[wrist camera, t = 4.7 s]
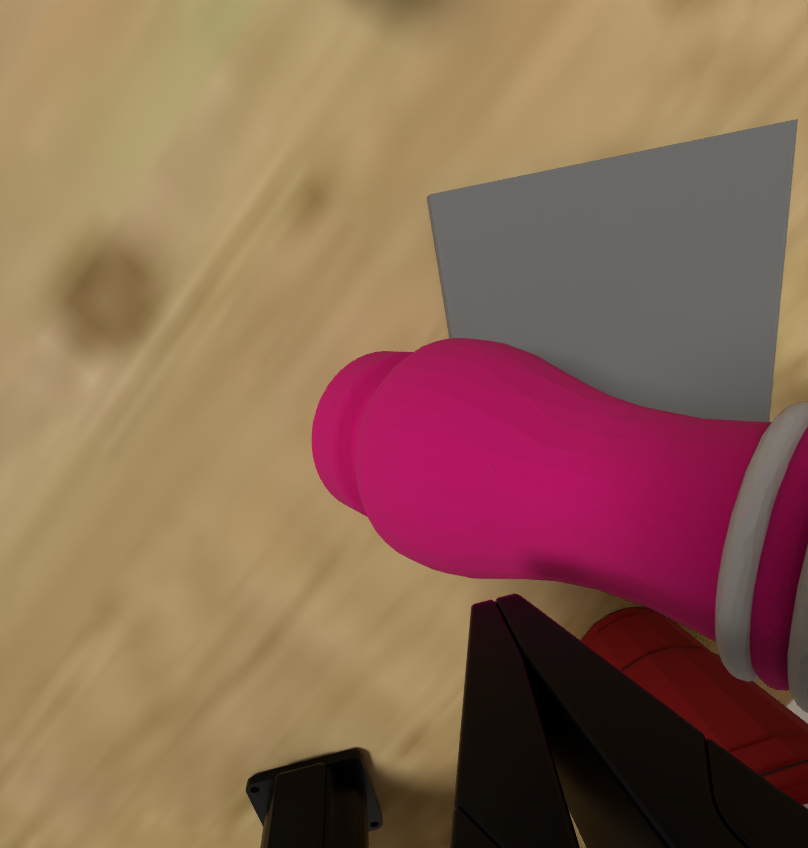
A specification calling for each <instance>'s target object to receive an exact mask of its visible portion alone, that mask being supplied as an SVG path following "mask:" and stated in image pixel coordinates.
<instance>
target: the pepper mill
mask: <svg viewBox="0 0 808 848" xmlns="http://www.w3.org/2000/svg"><path fill="white" fill-rule="evenodd" d="M312 453H313V459H314V463H315V466H316V469H317V472H318V474H319V476H320V479H321V480H322V482H323V484H324V485H325V487H326V488H327V489H328V491H329V492H330V493H331V494H332V495H333V496H334V497H335V498H336V499H337V500H338V501H340V502H342V503H343V504H345V505H347V506H349V507H350V508H352V509H354V510H356V511H358V512H360V513H361V514H363V515H365V516H367V517H368V518H369V520H370V522H371V523H372V525H373V527H374V529H375V530H376V532H377V533H378V534H379V535H380V536H381V538H382V539H383V540H384V541H385V542H386V543H387V544H388V545H390V546H391V547H392V548H393V549H394V550H395V551H397V552H398V553H400V554H402V555H404V556H405V557H407V558H409V559H411V560H413V561H416V562H418V563H420V564H422V565H424V566H427V567H429V568H431V569H433V570H437V571H441V572H445V573H449V574H454V575H459V576H464V577H469V578H480V579H533V580H548V581H558V582H563V583H568V584H573V585H578V586H583V587H589V588H594V589H598V590H601V591H604V592H606V593H609V594H612V595H615V596H617V597H620V598H623V599H626V600H628V601H631V602H634V603H637V604H639V605H642V606H645V607H648V608H650V609H653V610H655V611H657V612H659V613H661V614H663V615H665V616H667V617H669V618H671V619H673V620H674V621H676V622H678V623H680V624H682V625H684V626H686V627H688V628H690V629H692V630H694V631H696V632H698V633H700V634H702V635H704V636H706V637H708V638H710V639H712V640H713V641H715V642H716V644H717V648H718V652H719V655H720V658H721V660H722V662H723V665H724V666H725V667H726V669H727V670H728V671H729V673H730V674H731V675H733V676H734V677H736V678H738V679H741V680H744V681H747V682H749V681H754V680H757V679H761V680H762V681H763V682H764V683H765V684H766V685H767V686H769V687H771V688H774V689H776V690H790V692H791V694H792V696H793V698H794V700H795V702H796V703H797V705H798V706H799V707H800V708H801V709H802V710H803V711H805V712H808V402H802V403H798V404H795V405H792V406H789V407H787V408H786V409H785V410H783V411H782V412H781V413H780V414H779V415H778V416H777V417H776V418H775V419H774V420H773V421H772V422H756V421H738V420H721V419H704V418H698V417H693V416H688V415H683V414H678V413H673V412H668V411H663V410H658V409H653V408H648V407H643V406H640V405H637V404H634V403H631V402H628V401H625V400H622V399H619V398H616V397H613V396H610V395H608V394H606V393H604V392H602V391H600V390H598V389H596V388H594V387H592V386H590V385H588V384H586V383H584V382H582V381H580V380H579V379H577V378H575V377H573V376H572V375H570V374H568V373H566V372H565V371H563V370H561V369H559V368H558V367H556V366H554V365H552V364H551V363H549V362H547V361H545V360H544V359H542V358H540V357H538V356H537V355H534V354H532V353H530V352H527V351H524V350H521V349H519V348H516V347H513V346H510V345H508V344H505V343H500V342H495V341H489V340H480V339H470V338H452V339H445V340H440V341H436V342H433V343H431V344H428V345H426V346H423V347H421V348H420V349H418V350H417V351H415V352H391V351H382V352H374V353H370V354H367V355H364V356H362V357H359V358H357V359H356V360H354V361H352V362H351V363H349V364H348V365H347V366H346V367H344V368H343V369H342V370H341V371H340V372H339V373H338V374H337V375H336V376H335V377H334V378H333V380H332V381H331V382H330V383H329V385H328V386H327V388H326V390H325V392H324V394H323V395H322V397H321V399H320V401H319V404H318V407H317V410H316V413H315V417H314V421H313V428H312Z"/></svg>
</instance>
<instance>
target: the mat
mask: <svg viewBox="0 0 808 848" xmlns="http://www.w3.org/2000/svg"><path fill="white" fill-rule="evenodd" d="M797 122H798V119H796V120H791V121H786V122H782V123H777V124H772V125H767V126H762V127H757V128H752V129H747V130H743V131H738V132H733V133H728V134H723V135H718V136H713V137H708V138H704V139H699V140H694V141H689V142H684V143H679V144H674V145H669V146H665V147H660V148H655V149H650V150H645V151H640V152H635V153H630V154H626V155H621V156H616V157H611V158H606V159H601V160H596V161H591V162H587V163H582V164H577V165H572V166H567V167H562V168H557V169H552V170H548V171H543V172H538V173H533V174H528V175H523V176H518V177H513V178H509V179H504V180H499V181H494V182H489V183H484V184H479V185H474V186H470V187H465V188H460V189H455V190H450V191H445V192H440V193H435V194H431V195H429V196H427V201H428V207H429V214H430V220H431V226H432V232H433V238H434V245H435V251H436V257H437V263H438V270H439V276H440V282H441V288H442V294H443V301H444V307H445V313H446V319H447V326H448V332H449V338H450V339H452V338H470V339H480V340H489V341H495V342H500V343H505V344H508V345H510V346H513V347H516V348H519V349H521V350H524V351H527V352H530V353H532V354H534V355H537V356H538V357H540V358H542V359H544V360H545V361H547V362H549V363H551V364H552V365H554V366H556V367H558V368H559V369H561V370H563V371H565V372H566V373H568V374H570V375H572V376H573V377H575V378H577V379H579V380H580V381H582V382H584V383H586V384H588V385H590V386H592V387H594V388H596V389H598V390H600V391H602V392H604V393H606V394H608V395H610V396H613V397H616V398H619V399H622V400H625V401H628V402H631V403H634V404H637V405H640V406H643V407H648V408H653V409H658V410H663V411H668V412H673V413H678V414H683V415H688V416H693V417H698V418H704V419H721V420H738V421H756V422H769V415H770V405H771V394H772V384H773V373H774V363H775V352H776V342H777V331H778V321H779V310H780V300H781V289H782V279H783V268H784V258H785V247H786V237H787V227H788V216H789V206H790V195H791V185H792V174H793V164H794V153H795V143H796V132H797Z"/></svg>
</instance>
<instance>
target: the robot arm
mask: <svg viewBox="0 0 808 848" xmlns="http://www.w3.org/2000/svg"><path fill="white" fill-rule="evenodd" d="M246 793H247V795H248V797H249V799H250V801H251V803H252V805H253V807H254V809H255V811H256V813H257V815H258V817H259V819H260V821H261V823H262V825H263V834H262V840H261V847H260V848H369V842H368V832H369V831H372V830H376V829H379V828H380V827H381V826H382V824H383V822H382V813H381V810H380V807H379V804H378V801H377V798H376V795H375V793H374V790H373V787H372V784H371V781H370V778H369V775H368V772H367V769H366V766H365V763H364V760H363V757H362V754H361V753H360V752H358V751H348V752H345V753H341V754H337V755H333V756H329V757H325V758H322V759H318V760H314V761H310V762H306V763H302V764H299V765H295V766H291V767H287V768H283V769H279V770H276V771H272V772H268V773H264V774H260V775H256V776H253V777H251V778H249V779H248V781H247V786H246ZM454 805H455V809H454V810H453V819H452V831H451V842H450V848H580V847H579V843H578V840H577V837H576V833H575V830H574V827H573V823H572V820H571V817H570V813H571V815H572V818H573V820H574V822H575V824H576V826H577V828H578V830H579V832H580V835H581V837H582V839H583V841H584V843H585V845H586V847H587V848H808V808H806V807H805V806H803V805H802V804H800V803H799V802H797V801H796V800H794V799H793V798H791V797H790V796H788V795H787V794H785V793H784V792H783V791H781V790H780V789H778V788H777V787H776V786H774V785H773V784H772V783H770V782H769V781H767V780H766V779H765V778H763V777H762V776H760V775H759V774H758V773H756V772H755V771H754V770H752V769H751V768H749V767H748V766H747V765H745V764H744V763H743V762H741V761H740V760H738V759H737V758H736V757H734V756H733V755H732V754H730V753H729V752H728V751H726V750H725V749H724V748H722V747H721V746H720V745H719V744H717V743H716V742H715V741H713V740H712V739H707V740H706V738H705V735H704V734H703V733H702V732H701V731H700V730H698V729H697V728H696V727H694V726H693V725H692V724H690V723H689V722H688V721H686V720H685V719H684V718H682V717H681V716H680V715H678V714H677V713H676V712H674V711H673V710H672V709H670V708H669V707H668V706H666V705H665V704H664V703H662V702H661V701H660V700H658V699H657V698H656V697H654V696H653V695H652V694H650V693H649V692H648V691H646V690H645V689H644V688H642V687H641V686H640V685H639V684H637V683H636V682H635V681H633V680H632V679H631V678H629V677H628V676H627V675H625V674H624V673H623V672H621V671H620V670H619V669H617V668H616V667H615V666H613V665H612V664H611V663H609V662H608V661H607V660H605V659H604V658H603V657H601V656H600V655H599V654H597V653H596V652H595V651H593V650H592V649H591V648H589V647H588V646H587V645H585V644H584V643H583V642H581V641H580V640H579V639H577V638H576V637H575V636H573V635H572V634H571V633H569V632H568V631H567V630H565V629H564V628H563V627H561V626H560V625H559V624H557V623H556V622H555V621H553V620H552V619H551V618H550V617H548V616H547V615H546V614H544V613H543V612H542V611H540V610H539V609H538V608H536V607H535V606H534V605H532V604H531V603H530V602H528V601H527V600H526V599H524V598H523V597H522V596H520V595H518V594H511V595H507V596H503V597H499V598H497V599H496V601H495V602H494V601H493V600H488V601H484V602H480V603H476V604H473V605H472V607H471V616H470V627H469V639H468V650H467V662H466V674H465V685H464V697H463V708H462V720H461V731H460V743H459V754H458V766H457V777H456V789H455V801H454ZM568 809H569V810H568ZM569 811H570V813H569Z"/></svg>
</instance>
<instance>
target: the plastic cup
mask: <svg viewBox="0 0 808 848" xmlns="http://www.w3.org/2000/svg"><path fill="white" fill-rule="evenodd" d="M581 642H583V643H584V644H585V645H587V646H588V647H589V648H591V649H592V650H593V651H595V652H596V653H597V654H599V655H600V656H601V657H603V658H604V659H605V660H607V661H608V662H609V663H611V664H612V665H613V666H615V667H616V668H617V669H619V670H620V671H621V672H623V673H624V674H625V675H627V676H628V677H629V678H631V679H632V680H633V681H635V682H636V683H637V684H639V685H640V686H641V687H642V688H644V689H645V690H646V691H648V692H649V693H650V694H652V695H653V696H654V697H656V698H657V699H658V700H660V701H661V702H662V703H664V704H665V705H666V706H668V707H669V708H670V709H672V710H673V711H674V712H676V713H677V714H678V715H680V716H681V717H682V718H684V719H685V720H686V721H688V722H689V723H690V724H692V725H693V726H694V727H696V728H697V729H698V730H700V731H701V732H702V733H703V734H704V735H705V738H706V740H707V739H712V740H713V741H715V742H716V743H717V744H719V745H720V746H721V747H722V748H724V749H725V750H726V751H728V752H729V753H730V754H732V755H733V756H734V757H736V758H737V759H738V760H740V761H741V762H743V763H744V764H745V765H747V766H748V767H749V768H751V769H752V770H754V771H755V772H756V773H758V774H759V775H760V776H762V777H763V778H765V779H766V780H767V781H769V782H770V783H772V784H773V785H774V786H776V787H777V788H778V789H780V790H781V791H783V792H784V793H785V794H787V795H788V796H790V797H791V798H793V799H794V800H796V801H797V802H799V803H800V804H802V805H803V806H805V807H806V808H808V724H807V723H806V722H805V721H803V720H802V719H801V718H800V717H798V716H797V715H796V714H794V713H793V712H792V711H790V710H789V709H788V708H787V707H785V706H784V705H783V704H781V703H780V702H779V701H778V700H776V699H775V698H774V697H772V696H771V695H770V694H768V693H767V692H766V691H765V690H763V689H762V688H761V687H759V686H758V685H757V684H756V683H754V682H753V681H749V682H747V681H744V680H741V679H738V678H736V677H734V676H733V675H731V674H730V673H729V671H728V670H727V669H726V667H725V666H724V665H723V662H722V660H721V658H720V656H719V655H717V654H715V653H713V652H711V651H710V650H709V649H707V648H706V647H705V646H704V645H702V644H701V643H700V642H699V641H697V640H696V639H695V638H694V637H693V636H691V635H690V634H689V633H688V632H686V631H685V630H684V629H683V628H681V627H680V626H679V625H678V624H676V623H675V622H674V621H672V620H670V619H668V618H666V617H665V616H664V615H662V614H660V613H658V612H656V611H653V610H651V609H649V608H628V609H624V610H621V611H618V612H614V613H611V614H610V615H608V616H606V617H605V618H603V619H602V620H600V621H599V622H597V623H596V624H594V625H593V626H592V628H591V629H590V630H589V631H588V632H587V634H586V635H585V636H584V637H583V638H582V640H581Z"/></svg>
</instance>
